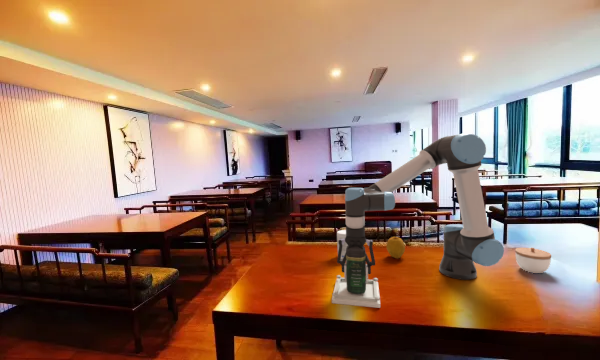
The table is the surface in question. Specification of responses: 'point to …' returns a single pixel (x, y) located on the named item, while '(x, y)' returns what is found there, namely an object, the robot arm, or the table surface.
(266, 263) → the table surface
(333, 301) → the white square tray
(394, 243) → the apple
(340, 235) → the supplement tub
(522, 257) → the lidded bowl
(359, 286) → the coffee jar
